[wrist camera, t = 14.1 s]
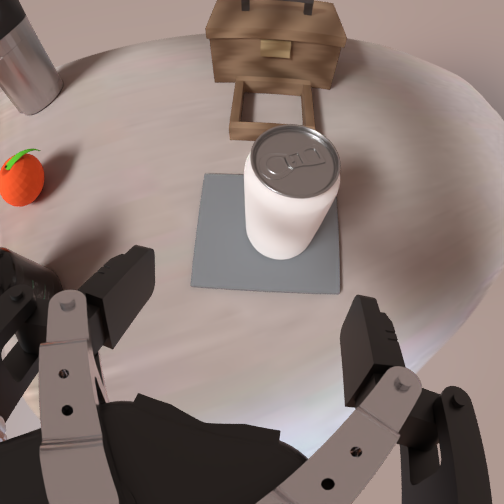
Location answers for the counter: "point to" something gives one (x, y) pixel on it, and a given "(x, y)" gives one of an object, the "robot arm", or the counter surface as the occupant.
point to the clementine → (21, 179)
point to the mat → (247, 257)
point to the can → (288, 188)
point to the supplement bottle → (27, 275)
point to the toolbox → (274, 53)
